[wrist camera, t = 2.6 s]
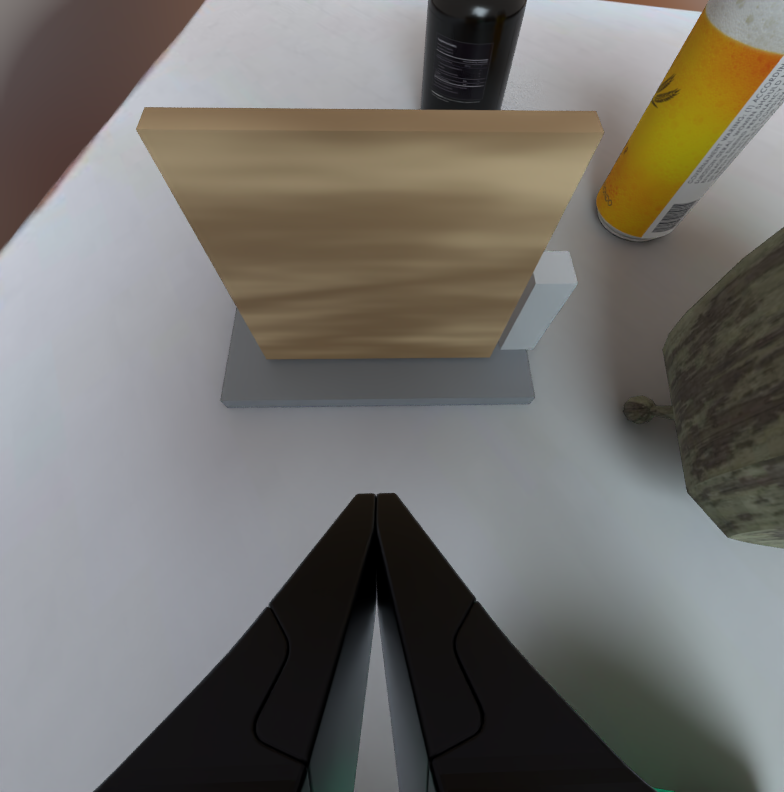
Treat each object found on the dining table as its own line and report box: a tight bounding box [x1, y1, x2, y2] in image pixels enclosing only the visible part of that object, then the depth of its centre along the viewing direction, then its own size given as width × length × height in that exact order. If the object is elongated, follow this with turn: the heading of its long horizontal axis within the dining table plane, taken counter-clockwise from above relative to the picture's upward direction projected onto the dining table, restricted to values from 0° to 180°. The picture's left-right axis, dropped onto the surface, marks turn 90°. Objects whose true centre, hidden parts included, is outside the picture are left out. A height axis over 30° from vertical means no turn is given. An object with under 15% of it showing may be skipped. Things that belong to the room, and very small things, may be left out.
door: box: [136, 107, 604, 359], centre depth 17 cm, size 1×13×13 cm, turn 91°
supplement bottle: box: [421, 0, 527, 110], centre depth 29 cm, size 7×7×12 cm
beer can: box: [596, 0, 784, 242], centre depth 23 cm, size 6×6×15 cm
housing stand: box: [221, 251, 578, 408], centre depth 23 cm, size 16×18×7 cm
